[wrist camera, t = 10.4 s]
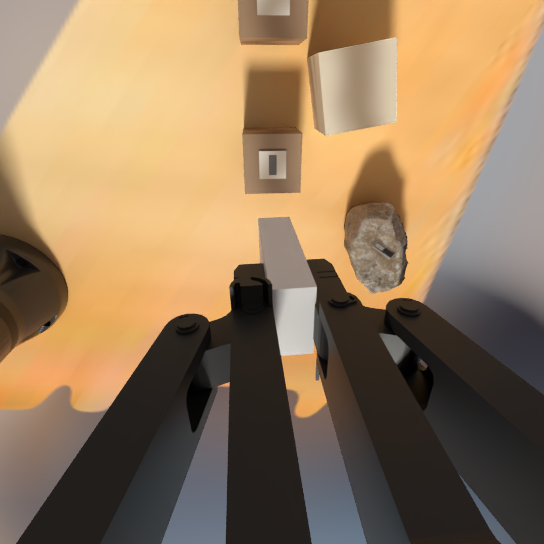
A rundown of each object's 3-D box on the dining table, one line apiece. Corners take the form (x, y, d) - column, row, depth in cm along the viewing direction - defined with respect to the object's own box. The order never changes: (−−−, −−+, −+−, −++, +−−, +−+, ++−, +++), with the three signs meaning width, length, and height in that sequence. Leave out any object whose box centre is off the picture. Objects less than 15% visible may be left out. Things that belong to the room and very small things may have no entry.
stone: (383, 187, 43) (402, 205, 37) (405, 262, 49) (424, 289, 43) (329, 209, 45) (339, 231, 38) (357, 280, 50) (369, 309, 44)
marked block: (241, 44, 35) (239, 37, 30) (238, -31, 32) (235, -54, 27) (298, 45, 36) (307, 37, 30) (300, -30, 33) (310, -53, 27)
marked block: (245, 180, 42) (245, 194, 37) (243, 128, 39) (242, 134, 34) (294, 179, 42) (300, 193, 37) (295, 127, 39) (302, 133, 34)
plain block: (314, 128, 40) (325, 135, 33) (306, 58, 36) (318, 52, 30) (374, 116, 39) (396, 122, 33) (372, 45, 36) (397, 36, 30)
